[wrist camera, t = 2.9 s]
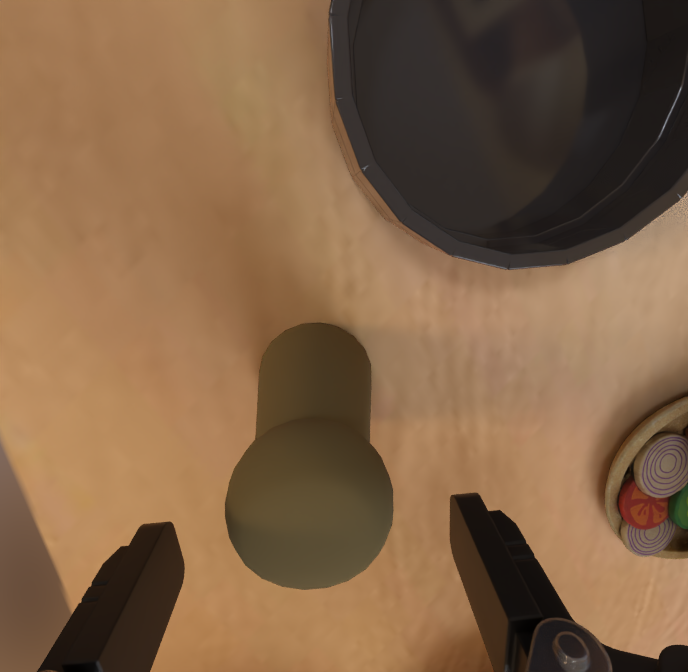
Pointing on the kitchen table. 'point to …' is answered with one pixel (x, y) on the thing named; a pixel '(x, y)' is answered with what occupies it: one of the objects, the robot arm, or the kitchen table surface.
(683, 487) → the toy sandwich meal
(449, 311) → the kitchen table surface
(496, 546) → the robot arm
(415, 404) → the kitchen table surface
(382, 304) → the kitchen table surface
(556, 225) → the dark grey bowl
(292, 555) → the cork
